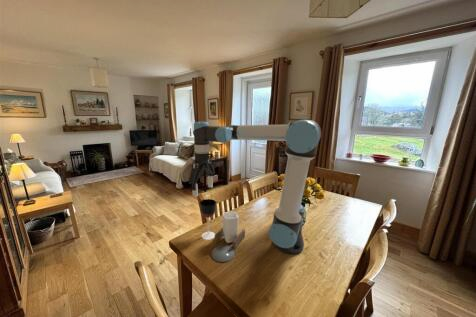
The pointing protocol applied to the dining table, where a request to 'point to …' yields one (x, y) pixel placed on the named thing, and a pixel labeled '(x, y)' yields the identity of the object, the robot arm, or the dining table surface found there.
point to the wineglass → (208, 215)
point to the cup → (230, 226)
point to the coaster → (222, 253)
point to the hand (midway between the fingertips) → (203, 191)
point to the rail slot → (235, 242)
